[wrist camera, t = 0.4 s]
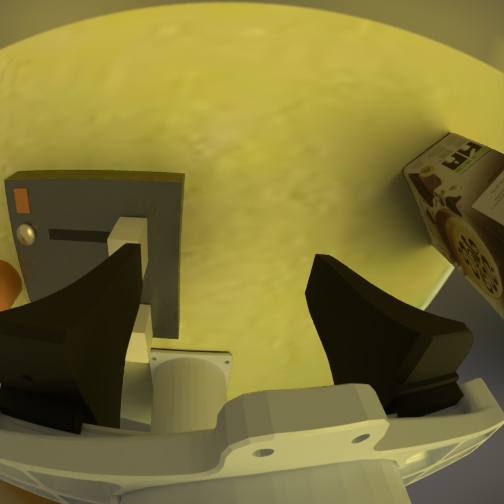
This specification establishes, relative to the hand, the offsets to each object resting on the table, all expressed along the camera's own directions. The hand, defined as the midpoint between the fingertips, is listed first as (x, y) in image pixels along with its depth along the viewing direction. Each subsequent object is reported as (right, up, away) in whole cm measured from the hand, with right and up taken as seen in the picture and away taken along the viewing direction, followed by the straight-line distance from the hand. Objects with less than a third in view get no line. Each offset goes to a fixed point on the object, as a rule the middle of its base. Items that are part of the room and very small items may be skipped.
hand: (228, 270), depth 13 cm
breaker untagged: (-8, -4, +10) cm, 14 cm away
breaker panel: (-11, +1, +9) cm, 14 cm away
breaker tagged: (-7, +2, +7) cm, 10 cm away
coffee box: (+17, +6, +10) cm, 21 cm away
